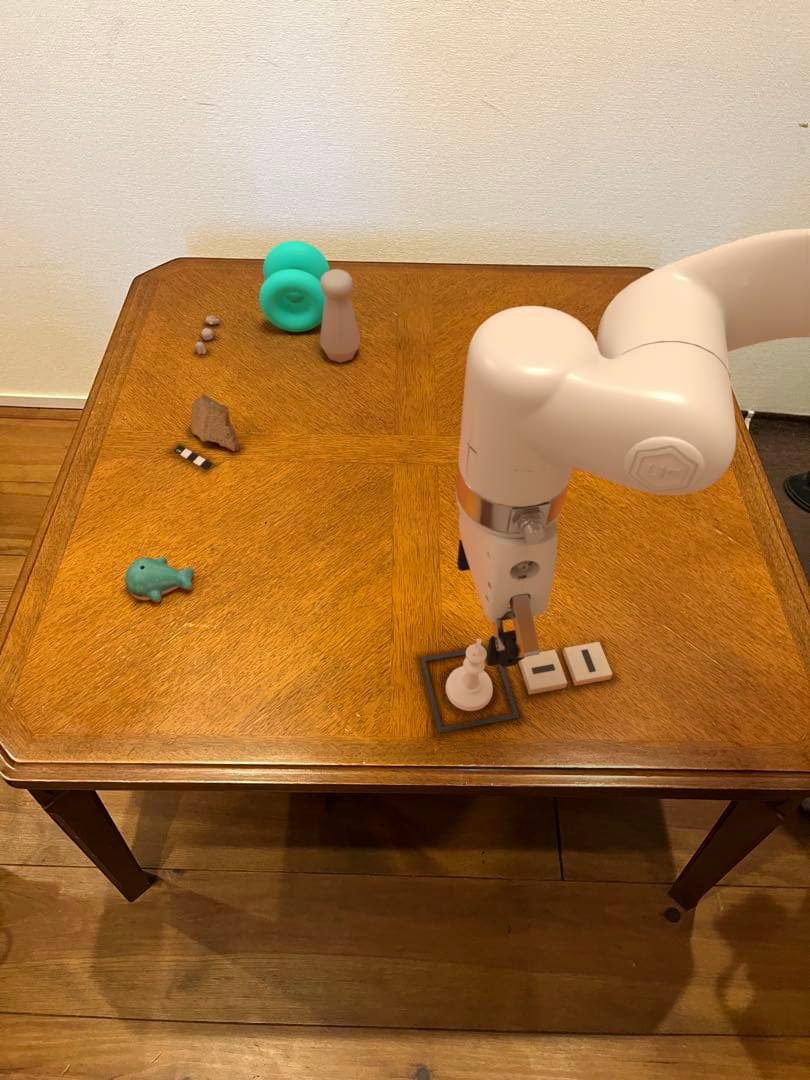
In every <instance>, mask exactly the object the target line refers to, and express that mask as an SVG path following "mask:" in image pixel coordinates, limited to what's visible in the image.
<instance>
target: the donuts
mask: <svg viewBox="0 0 810 1080" xmlns="http://www.w3.org/2000/svg"><path fill="white" fill-rule="evenodd" d="M330 270H331V269H330V265H329V263H328V261H327V258H326V257H325V255H324V254H323V253H322V252H321V251H320V250H319V249H318V248H316V247H315V246H313V245H311V244H310V243H307V242H304V241H299V240H289V241H284V242H281V243H279V244H277V245H275V246H274V247H273V248H272V249H271V250H269V252H268V253H267V254H266V255H265V258H264V262H263V267H262V273H263V278H264V282H263V283H262V285H261V287H260V290H259V295H258V296H259V297H258V301H259V306H260V309H261V312H262V314H263V315H264V316H265V318H266V319H267V320H268V321H269V322H270V324H272V325H274V326H275V327H277V328H278V329H281V330H284V331H287V332H291V333H301V332H307V331H310V330H313V329H314V328H316V327H317V326H319V325H320V324H322V318H323V310H324V302H325V295H324V294H323V292H322V290H321V277H322V276H323V275H324V273H326V272H327V271H330Z"/></svg>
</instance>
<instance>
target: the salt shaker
mask: <svg viewBox="0 0 810 1080" xmlns="http://www.w3.org/2000/svg"><path fill="white" fill-rule="evenodd" d="M321 290H322V292H323V294H324V295H325V302H324V310H323V318H322V322H321V326H320V327H321V328H320V335H319V344H320V347H321V349H322V350H323V351H324V353H325V354H326V356H327V358H328V359H329V360H330V361H333V362H337V363H341V364H342V363H345V362H348V361H351V360H353V359H354V357H355V354H356V352H357V351H358V349H359V348H360V345H361V336H360V331H359V328H358V323H357V320H356V315H355V310H354V306H353V302H352V299H351V293H353V277H352V275H350V274H349V272H348V271H346V270H343V269H337V268H335V269H330V271H327V272H326V273H324V275H323V276H322V277H321Z"/></svg>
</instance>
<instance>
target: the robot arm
mask: <svg viewBox="0 0 810 1080" xmlns="http://www.w3.org/2000/svg"><path fill="white" fill-rule="evenodd" d="M794 338H810V227H809V228H808V227H807V228H791V229H783V230H782V229H781V230H775V231H773V230H772V231H769V232H764V233H759V234H754V235H751V236H747V237H743V238H739V239H737V240H733V241H731V242H728V243H725V244H722V245H719V246H715V247H713V248H710V249H707V250H704V251H701V252H697V253H696V254H693V255H690V256H687V257H684V258H682V259H678V260H676V261H673V262H670V263H668V264H665V265H664V266H661V267H659V268H656V269H655V270H652V271H650V272H648V273H647V274H645V275H643V276H642V277H641V276H640V277H639V278H638V279H636V280H634V281H632V282H631V283H630V284H629V285H627V286H626V287H624V288H623V289H622V290H621V291H619V293H617V294H616V296H615V297H614V298H613V299H612V300H611V301H610V302H609V304H608V305H607V307H606V309H605V311H604V313H603V315H602V317H601V318H600V322H599V325H598V328H597V334H596V339H595V337H594V335H593V334H592V332H591V330H590V329H588V327H587V326H586V325H585V324H584V323H583V322H582V321H580V320H579V319H577V318H575V317H574V316H572V315H571V314H569V313H567V312H564V311H562V310H558V309H555V308H552V307H547V306H541V305H522V306H514V307H511V308H507V309H504V310H501V311H499V312H497V313H494V314H493V315H491V316H490V317H488V319H486V320H485V321H484V322H483V323H482V324H480V326H479V327H478V328H477V329H476V331H475V332H474V334H473V336H472V339H471V340H470V342H469V345H468V349H467V350H468V351H467V356H466V361H465V362H466V364H465V372H464V373H465V374H464V385H463V386H464V387H463V399H462V410H461V422H460V423H461V424H460V438H459V447H458V461H457V471H456V482H455V485H456V486H455V500H456V503H457V507H458V531H459V536H460V539H459V541H458V550H457V562H456V565H457V569H458V570H459V571H461V572H464V571H465V572H466V571H470V574H471V577H472V581H473V583H474V587H475V590H476V592H477V593H476V594H477V596H478V599H479V602H480V605H481V608H482V611H483V614H484V616H485V618H486V619H487V620H489V621H490V622H491V623H492V629H493V635H492V636H490V637H489V640H488V645H487V646H488V650H487V651H486V653H487V656H486V659H485V661H486V664H487V666H488V667H492V666H498V664H500V665H501V666H502V667H504V668H506V667H507V668H508V667H513V666H515V665H518V664H519V663H518V662H519V661H520V660H522V659H524V658H525V657H528V656H533V655H539V653H540V652H541V650H540V645H539V641H538V640H539V639H538V636H537V630H536V626H535V621H534V617H537V616H542V615H544V614H545V613H546V612H547V608H548V605H549V602H550V598H551V593H552V588H553V583H554V578H555V573H556V565H557V557H558V527H557V522H556V521H557V520H558V519H559V517H560V515H561V513H562V510H563V506H564V503H565V499H566V495H567V491H568V488H569V485H570V481H571V478H572V477H571V476H572V473H573V471H574V469H576V470H579V471H582V472H584V473H587V474H589V475H593V476H595V477H597V478H600V479H603V480H605V481H608V482H611V483H614V484H617V485H619V486H622V487H625V488H627V489H631V490H634V491H638V492H641V493H646V494H652V495H658V496H685V495H690V494H691V495H692V494H695V493H698V492H701V491H702V490H705V489H707V488H709V487H711V486H712V485H714V484H716V483H717V482H718V481H719V480H720V479H721V478H722V477H723V476H724V475H725V474H726V472H727V471H728V469H729V467H730V466H731V464H732V461H733V459H734V456H735V452H736V447H737V425H736V414H735V408H734V407H735V405H734V399H733V390H732V380H731V372H730V371H731V370H730V361H729V352H731V351H735V350H739V349H742V348H746V347H750V346H753V345H756V344H757V345H758V344H761V343H765V342H771V341H775V340H784V339H794ZM509 620H512V622H513V627H514V629H513V630H508V631H504V622H503V621H509Z"/></svg>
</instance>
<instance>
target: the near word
mask: <svg viewBox="0 0 810 1080" xmlns="http://www.w3.org/2000/svg"><path fill="white" fill-rule="evenodd" d="M483 647H484V648H485V650H486V652H487V650H488V645H484V646H483ZM466 650H467V649H463V650H462V649H461V650H456V651H450V652H445V653H439V654H434V655H433V654H432V655H428V656H423V657H420V658H419V659H420V661H419V662H420V665H421V669H422V672H423V677H424V681H425V685H426V689H427V693H428V698H429V702H430V705H431V710H432V714H433V718H434V723H435V727H436V730H437V734H438V735H439V734H443V733H450V732H455V731H460V730H464V729H471V728H475V727H479V726H485V725H486V726H487V725H490V724H496V723H501V722H506V721H512V720H516V719H520V714H519V711H518V708H517V705H516V701H515V697H514V695H513V692H512V689H511V685H510V683H509V679H508V676H507V673H506V669H505V667H502V666H501V665H500V664H498V665H497V667H498V670H499V674H500V676H501V680H502V683H503V686H504V689H505V690H504V691H505V693H506V696H507V700H508V702H509V705H510V709H511V712H512V713H508V714H503V715H498V716H494V717H488V718H483V719H477V720H472V721H467V722H463V723H462V722H461V723H458V724H451V725H447V726H443V725H442V720H441V718H440V717H441V716H440V714H439V710H438V705H437V701H436V697H435V694H434V690H433V685H432V680H431V677H430V672H429V669H428V665H427V663H428V662H429V663H430V662H434V661H439V660H441V661H442V660H445V659H452V658H457V657H462V656H463V657H464V656H466ZM562 655H563V659H564V661H565V664H566V667H567V669H568V672H569V675H570V677H571V680H572V683H573V686H575V687H577V686H582V685H588V684H592V683H597V682H603V681H608V680H611V679H612V676H613V672H612V669H611V667H610V664H609V662H608V659H607V656H606V655H605V652H604V650H603V647H602V645H601V642H600V641H595V642H589V643H584V644H577V645H573V646H568V647H564V648H563V650H562ZM517 664H518V666H519V668H520V672H521V674H522V678H523V681H524V684H525V688H526V690H527V693H528V695H529V696H530V695H534V694H541V693H545V692H551V691H556V690H561V689H565V688H567V685H568V681H567V677H566V675H565V672H564V670H563V667H562V664H561V661H560V659H559V655H558V654H557V651H556V649H550V650H545V651H540V653H539V655H533V656H528V657H525V658H524V659H522V660H520V661H519V662H518V663H517Z"/></svg>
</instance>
